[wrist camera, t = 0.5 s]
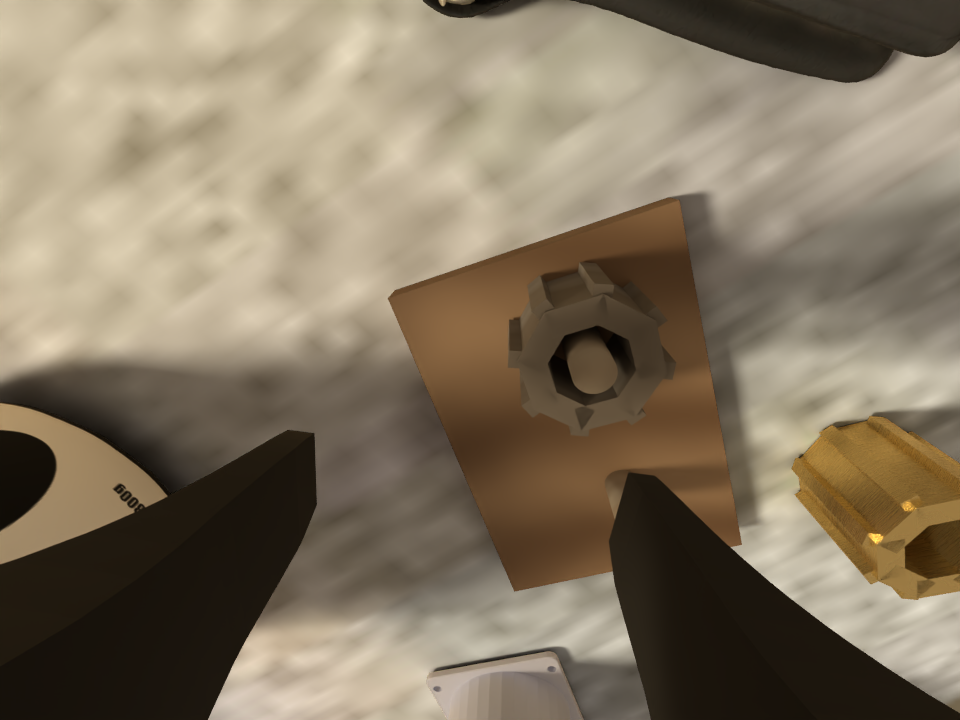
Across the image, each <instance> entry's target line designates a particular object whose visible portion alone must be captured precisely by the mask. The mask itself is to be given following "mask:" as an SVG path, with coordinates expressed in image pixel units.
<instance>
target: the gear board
mask: <svg viewBox="0 0 960 720" xmlns="http://www.w3.org/2000/svg"><path fill="white" fill-rule="evenodd" d="M388 300H389V302H390V304H391V307H392V309H393V311H394V314H395V316H396V318H397V321H398V323H399V325H400V327H401V330H402V332H403V334H404V337H405V339H406V341H407V344H408V346H409V348H410V351H411V353H412V355H413V358H414V360H415V362H416V364H417V367H418V369H419V371H420V374H421V376H422V378H423V381H424V383H425V385H426V388H427V390H428V392H429V395H430V397H431V399H432V402H433V404H434V406H435V408H436V411H437V413H438V415H439V418H440V420H441V422H442V425H443V427H444V429H445V432H446V434H447V436H448V439H449V441H450V443H451V446H452V448H453V450H454V452H455V455H456V457H457V459H458V462H459V464H460V466H461V469H462V471H463V473H464V476H465V478H466V480H467V483H468V485H469V487H470V490H471V492H472V494H473V496H474V499H475V501H476V503H477V506H478V508H479V510H480V513H481V515H482V517H483V520H484V522H485V524H486V527H487V529H488V531H489V534H490V536H491V538H492V540H493V543H494V545H495V547H496V550H497V552H498V554H499V557H500V559H501V561H502V564H503V566H504V568H505V571H506V573H507V575H508V578H509V580H510V582H511V584H512V587H513V589H514V591H519V590H524V589H529V588H534V587H538V586H543V585H548V584H553V583H558V582H563V581H568V580H572V579H577V578H582V577H587V576H592V575H597V574H602V573H606V572H611V571H613V569H612V562H611V555H610V547H609V539H610V535H611V532H612V528H613V525H614V521H615V517H616V514H617V510H618V507H619V503H620V500H621V496H622V493H623V489H624V486H625V482H626V478H627V475H628V472H630V473H638V474H646V475H654V476H656V477H657V478H658V479H660V480H661V481H662V482H663V483H664V484H665V485H666V486H667V487H668V488H669V489H670V490H671V491H672V492H673V493H674V494H675V495H676V496H677V497H678V498H680V499H681V500H682V501H683V502H684V503H685V504H686V505H687V506H688V507H689V508H690V509H691V510H692V511H693V512H694V513H695V514H696V515H697V516H698V517H699V518H700V519H701V520H702V521H703V522H704V523H705V524H706V525H707V526H708V527H709V528H710V529H711V530H712V531H713V532H714V533H716V534H717V535H718V536H719V537H720V538H721V539H722V540H723V541H724V542H725V543H726V544H727V545H728V546H729V547H733V546H737V545H742V543H741V537H740V532H739V526H738V521H737V515H736V509H735V504H734V498H733V493H732V487H731V482H730V476H729V471H728V465H727V460H726V454H725V449H724V443H723V438H722V432H721V427H720V421H719V416H718V410H717V405H716V399H715V394H714V388H713V383H712V377H711V372H710V366H709V361H708V355H707V350H706V344H705V339H704V333H703V328H702V322H701V317H700V311H699V306H698V300H697V295H696V289H695V284H694V278H693V273H692V267H691V261H690V256H689V250H688V245H687V239H686V234H685V228H684V223H683V217H682V212H681V206H680V201H679V200H677V199H673V198H666V199H663V200H660V201H657V202H654V203H651V204H648V205H645V206H642V207H639V208H636V209H633V210H630V211H627V212H624V213H621V214H618V215H616V216H613V217H610V218H607V219H604V220H601V221H598V222H595V223H592V224H589V225H586V226H583V227H580V228H577V229H574V230H571V231H568V232H565V233H563V234H560V235H557V236H554V237H551V238H548V239H545V240H542V241H539V242H536V243H533V244H530V245H527V246H524V247H521V248H518V249H515V250H513V251H510V252H507V253H504V254H501V255H498V256H495V257H492V258H489V259H486V260H483V261H480V262H477V263H474V264H471V265H468V266H465V267H462V268H460V269H457V270H454V271H451V272H448V273H445V274H442V275H439V276H436V277H433V278H430V279H427V280H424V281H421V282H418V283H415V284H412V285H410V286H407V287H404V288H401V289H398V290H395V291H394V292H393V293H392V294H391V296H390V297H389V298H388Z"/></svg>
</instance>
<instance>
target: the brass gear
mask: <svg viewBox="0 0 960 720" xmlns="http://www.w3.org/2000/svg"><path fill="white" fill-rule="evenodd" d="M819 433H820V435H821V436H820V437H819V438H818V439H817V441H816V442H815V443H814V444H813V445H812V446H811V447H810V448H809V449H808V450H807V451H806V452H805V454H804V455H803V456H802V457H801V458H796V459H795V461H794V464H793V466H792V470H793V471H794V472H795V473H796V475H797V476H798V477H799V482H800V490H801V491H800V492H798V493H796V494H795V496H796V497H797V498H798V499H799V501H800V502H801V503H802V504H803V506H804V507H805V508H806V509H807V510H808V511H809V513H810V514H811V515H812V516H813V517H814V518H815V520H816V521H817V522H818V523H819V524H820V525H821V527H822V528H823V529H824V530H825V531H826V533H827V534H828V535H829V536H830V537H831V538H832V540H833V541H834V542H835V543H836V544H837V545H838V547H839V548H840V549H841V550H842V551H843V552H844V554H845V555H846V556H847V557H848V558H849V559H850V561H851V562H852V563H853V564H854V565H855V566H856V568H857V569H858V570H859V571H860V572H861V574H862V575H863V576H864V577H865V578H866V579H867V581H868V582H869V583H870V584H873V583H875V582H877V581H879V582H882V583H884V584H886V585H888V586H891V587H892V588H893V589H894V590H895V591H896V593H897V594H898V595H899V596H900V597H901V598H902V599H914V600H918V599H919V598H923V597H929V596H935V595H940V594H946V593H952V592H957V591H960V463H958V462H957V461H955V460H954V459H952V458H951V457H949V456H948V455H946V454H945V453H943V452H942V451H940V450H939V449H937V448H936V447H934V446H933V445H931V444H930V443H928V442H927V441H925V440H924V439H922V438H921V437H920V436H918V435H917V434H915V433H914V432H912V431H911V432H909V433H907V432H905V431H904V430H902V429H901V428H899V427H898V426H896V425H895V424H893V423H892V422H890V421H889V420H888V419H886V418H885V417H876V416H869V419H868V421H864V422H859V423H855V424H851V425H847V426H843V427H839V428H835V427H834V426H833V425H832V426H830V427H828V428H826V429H825V430H823V431H821V432H819Z"/></svg>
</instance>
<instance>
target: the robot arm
mask: <svg viewBox="0 0 960 720" xmlns="http://www.w3.org/2000/svg"><path fill="white" fill-rule="evenodd" d="M316 505H317V497H316V467H315V437H314V433H308V432H300V431H292V430H287V431H285V432H283V433H281V434H279V435H277V436H276V437H274V438H272V439H270V440H269V441H267V442H265V443H263V444H262V445H260V446H258V447H257V448H255V449H253V450H251V451H250V452H248V453H246V454H245V455H243V456H241V457H239V458H238V459H236V460H234V461H232V462H231V463H229V464H227V465H225V466H224V467H222V468H220V469H218V470H217V471H215V472H213V473H211V474H209V475H208V476H206V477H204V478H202V479H200V480H198V481H196V482H194V483H192V484H190V485H188V486H187V487H185V488H183V489H181V490H179V491H177V492H175V493H173V494H171V495H169V496H167V497H165V498H164V499H162V500H160V501H158V502H156V503H153V504H151V505H149V506H147V507H145V508H143V509H141V510H139V511H136V512H134V513H132V514H130V515H128V516H125V517H123V518H121V519H118V520H116V521H114V522H111V523H109V524H107V525H104V526H102V527H100V528H97V529H95V530H92V531H90V532H88V533H85V534H82V535H80V536H77V537H74V538H72V539H69V540H66V541H64V542H61V543H58V544H56V545H53V546H50V547H48V548H45V549H42V550H40V551H37V552H34V553H32V554H29V555H26V556H23V557H21V558H18V559H15V560H12V561H9V562H6V563H3V564H0V720H208V718H209V716H210V714H211V711H212V709H213V707H214V705H215V703H216V701H217V698H218V696H219V694H220V692H221V690H222V687H223V685H224V683H225V681H226V679H227V677H228V674H229V672H230V670H231V668H232V666H233V664H234V662H235V660H236V658H237V656H238V654H239V652H240V650H241V648H242V646H243V644H244V643H245V641H246V639H247V637H248V635H249V634H250V632H251V630H252V628H253V627H254V625H255V623H256V621H257V620H258V618H259V616H260V614H261V613H262V611H263V609H264V608H265V606H266V604H267V602H268V601H269V599H270V597H271V595H272V594H273V592H274V590H275V588H276V587H277V585H278V583H279V582H280V580H281V578H282V576H283V575H284V573H285V571H286V569H287V568H288V566H289V564H290V562H291V560H292V559H293V557H294V555H295V553H296V552H297V550H298V548H299V546H300V544H301V542H302V539H303V537H304V535H305V533H306V530H307V528H308V525H309V523H310V520H311V518H312V515H313V513H314V510H315V508H316ZM609 547H610V555H611V562H612V569H613V575H614V582H615V587H616V590H617V594H618V598H619V602H620V605H621V609H622V613H623V616H624V620H625V624H626V627H627V631H628V634H629V638H630V641H631V645H632V648H633V652H634V656H635V659H636V663H637V666H638V670H639V673H640V677H641V680H642V684H643V688H644V691H645V695H646V700H647V704H648V708H649V712H650V717H651V720H960V713H958V712H957V711H955V710H953V709H952V708H950V707H948V706H947V705H945V704H943V703H942V702H940V701H938V700H937V699H935V698H933V697H932V696H930V695H928V694H927V693H925V692H924V691H922V690H921V689H919V688H917V687H916V686H914V685H913V684H911V683H910V682H908V681H906V680H905V679H903V678H902V677H900V676H899V675H897V674H895V673H894V672H892V671H891V670H889V669H888V668H886V667H885V666H883V665H882V664H880V663H879V662H877V661H876V660H875V659H873V658H872V657H870V656H869V655H867V654H866V653H864V652H863V651H861V650H860V649H858V648H857V647H855V646H854V645H852V644H851V643H849V642H848V641H847V640H845V639H844V638H842V637H841V636H840V635H838V634H837V633H835V632H834V631H833V630H831V629H830V628H828V627H827V626H826V625H824V624H823V623H822V622H820V621H819V620H818V619H816V618H815V617H814V616H812V615H811V614H810V613H809V612H807V611H806V610H805V609H803V608H802V607H801V606H799V605H798V604H797V603H795V602H794V601H793V600H792V599H790V598H789V597H788V596H786V595H785V594H784V593H783V592H781V591H780V590H779V589H778V588H777V587H775V586H774V585H773V584H772V583H770V582H769V581H768V580H767V579H766V578H765V577H763V576H762V575H761V574H760V573H759V572H758V571H757V570H755V569H754V568H753V567H752V566H751V565H750V564H748V563H747V562H746V561H745V560H744V559H743V558H742V557H740V556H739V555H738V554H737V553H736V552H735V551H734V550H733V549H732V548H731V547H729V546H728V545H727V544H726V543H725V542H724V541H723V540H722V539H721V538H720V537H719V536H718V535H717V534H716V533H714V532H713V531H712V530H711V529H710V528H709V527H708V526H707V525H706V524H705V523H704V522H703V521H702V520H701V519H700V518H699V517H698V516H697V515H696V514H695V513H694V512H693V511H692V510H691V509H690V508H689V507H688V506H687V505H686V504H685V503H684V502H683V501H682V500H681V499H680V498H678V497H677V496H676V495H675V494H674V493H673V492H672V491H671V490H670V489H669V488H668V487H667V486H666V485H665V484H664V483H663V482H662V481H661V480H660V479H658V478H657V477H656V476H654V475H646V474H638V473H630V472H628V475H627V478H626V482H625V486H624V489H623V493H622V496H621V500H620V503H619V507H618V510H617V514H616V517H615V521H614V525H613V528H612V532H611V535H610V539H609ZM426 683H427V685H428V687H429V689H430V691H431V692H432V694H433V696H434V697H435V699H436V701H437V703H438V704H439V706H440V708H441V709H442V711H443V713H444V715H445V716H446V718H447V720H584V719H583V716H582V714H581V712H580V709H579V707H578V704H577V702H576V700H575V697H574V695H573V692H572V690H571V688H570V685H569V683H568V680H567V678H566V675H565V673H564V671H563V668H562V666H561V663H560V661H559V659H558V656H557V655H556V654H555V653H553V652H550V651H547V652H541V653H536V654H530V655H524V656H519V657H513V658H508V659H502V660H497V661H491V662H486V663H480V664H474V665H469V666H463V667H458V668H452V669H447V670H441V671H436V672H431V673H429V674H428V675H427V680H426Z"/></svg>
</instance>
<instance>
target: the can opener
mask: <svg viewBox="0 0 960 720" xmlns="http://www.w3.org/2000/svg"><path fill="white" fill-rule="evenodd" d="M423 1H424V2H425V3H426V4H427V5H428V6H430V7H431V8H433V9H434V10H436V11H438V12H440V13H442V14H444V15H447V16H450V17H457V18H468V17H474V16H476V15H479V14H481V13H484V12H487V11H489V10H491V9H493V8H496V7H498V6H499V5H501V4H504V3H506V2H508V1H510V0H423ZM572 1H576V2H579V3H584V4H589V5H593V6H596V7H599V8H601V9H605V10H609V11H612V12H615V13H617V14H620V15H624V16H626V17H628V18H631V19H634V20H637V21H639V22H642V23H644V24H647V25H649V26H652V27H655V28H658V29H660V30H662V31H665V32H667V33H670V34H672V35H676V36H679V37H681V38H684V39H687V40H689V41H692V42H695V43H698V44H700V45H704V46H706V47H709V48H712V49H714V50H718V51H721V52H724V53H727V54H729V55H733V56H736V57H739V58H742V59H745V60H748V61H752V62H755V63H759V64H764V65H767V66H770V67H773V68H778V69H782V70H786V71H790V72H794V73H799V74H803V75H807V76H813V77H818V78H822V79H826V80H834V81H838V82H845V83H850V82H859V81H862V80H864V79H867V78H869V77H871V76H873V75H874V74H875V73H876V72H878V71H879V70H880V69H881V68H882V67H883V65H884V64H885V63H886V62H887V60H888V59H889V58H890V56H891V54H892V52H893V50H897V51H900V52H903V53H906V54H910V55H914V56H920V57H932V56H937V55H940V54H942V53H945V52H946V51H948V50H949V49H951V48H952V47H953V46H954V45H955V44H956V43H957V42H958V41H959V40H960V0H572Z"/></svg>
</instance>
